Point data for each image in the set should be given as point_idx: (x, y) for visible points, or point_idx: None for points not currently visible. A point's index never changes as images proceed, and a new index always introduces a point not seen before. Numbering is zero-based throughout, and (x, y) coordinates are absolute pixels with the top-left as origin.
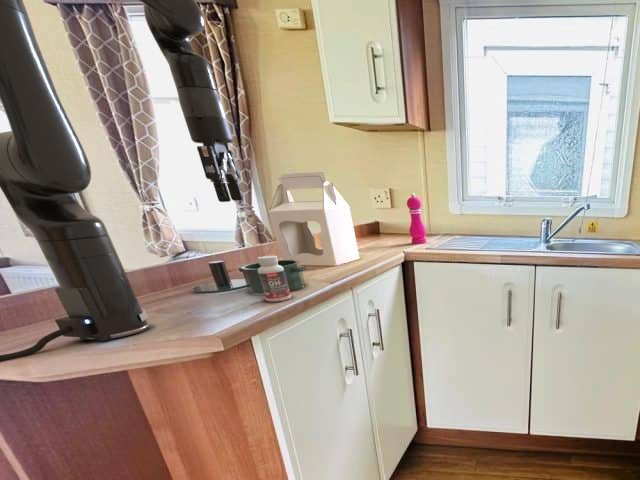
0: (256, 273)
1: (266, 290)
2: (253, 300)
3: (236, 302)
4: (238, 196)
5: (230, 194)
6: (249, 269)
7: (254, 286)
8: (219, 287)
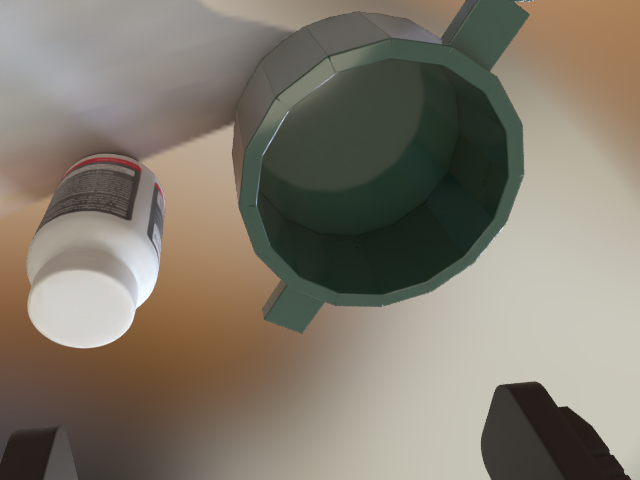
0: (243, 142)
1: (53, 196)
2: (135, 85)
3: (117, 7)
4: (498, 465)
5: (533, 431)
6: (264, 116)
7: (256, 86)
8: None
